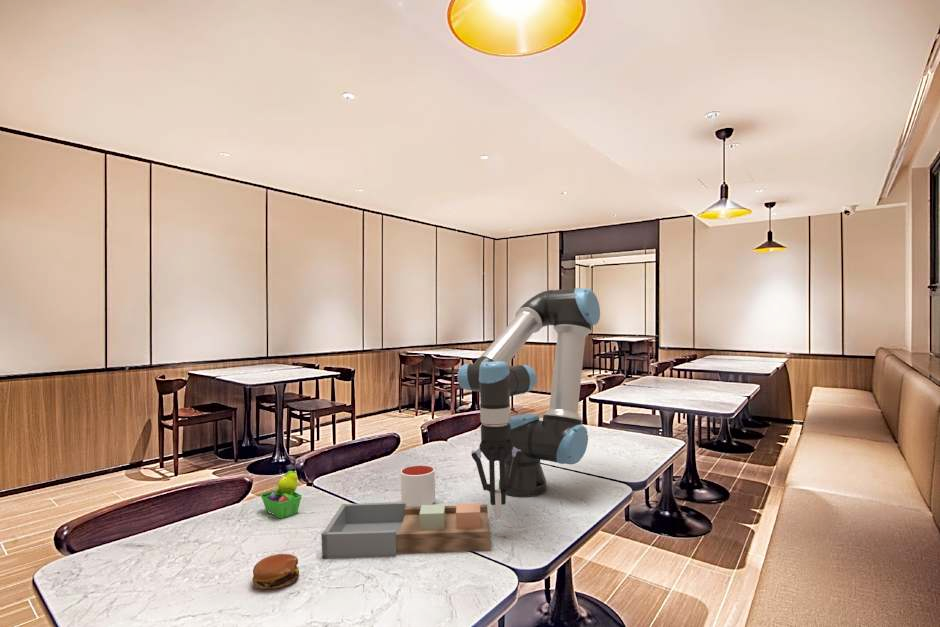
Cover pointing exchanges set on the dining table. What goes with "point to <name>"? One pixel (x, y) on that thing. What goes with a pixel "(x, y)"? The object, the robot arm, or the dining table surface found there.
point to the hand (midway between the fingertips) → (498, 517)
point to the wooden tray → (442, 534)
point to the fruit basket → (283, 497)
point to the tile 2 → (468, 516)
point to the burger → (275, 571)
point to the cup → (418, 485)
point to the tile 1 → (432, 517)
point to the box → (363, 530)
